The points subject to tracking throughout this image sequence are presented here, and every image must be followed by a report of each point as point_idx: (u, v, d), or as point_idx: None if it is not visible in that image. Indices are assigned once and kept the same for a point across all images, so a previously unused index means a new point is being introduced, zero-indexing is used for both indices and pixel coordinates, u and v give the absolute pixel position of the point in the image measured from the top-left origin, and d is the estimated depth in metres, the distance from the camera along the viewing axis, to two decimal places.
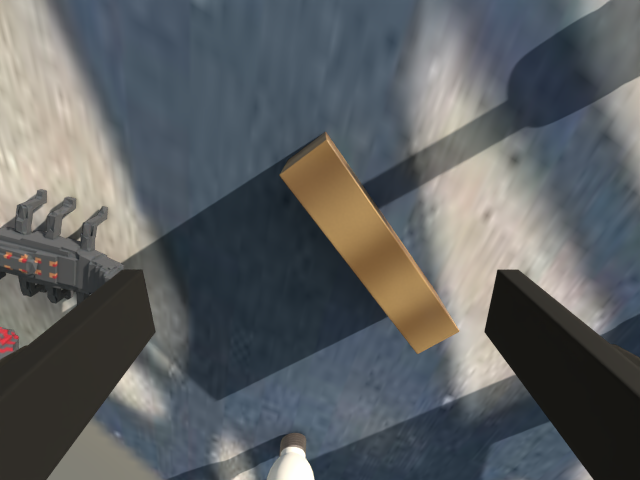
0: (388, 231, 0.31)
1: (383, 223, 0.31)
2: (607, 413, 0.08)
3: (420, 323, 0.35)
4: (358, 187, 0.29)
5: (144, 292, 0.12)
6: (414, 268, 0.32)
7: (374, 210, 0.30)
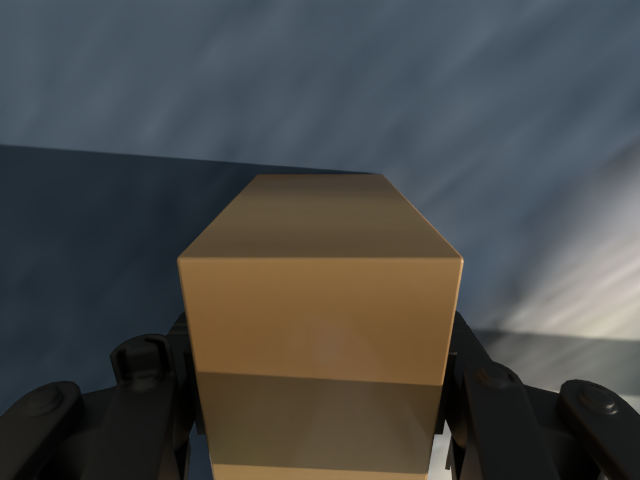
0: None
1: None
2: None
3: None
4: (426, 456, 0.08)
5: None
6: None
7: None
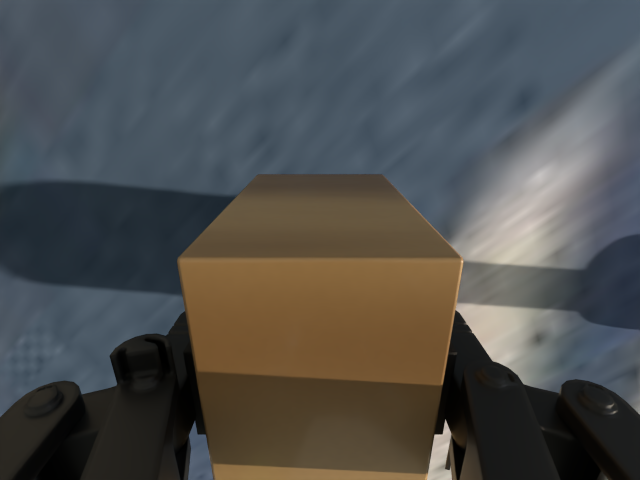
0: None
1: None
2: None
3: None
4: (426, 456, 0.08)
5: None
6: None
7: None
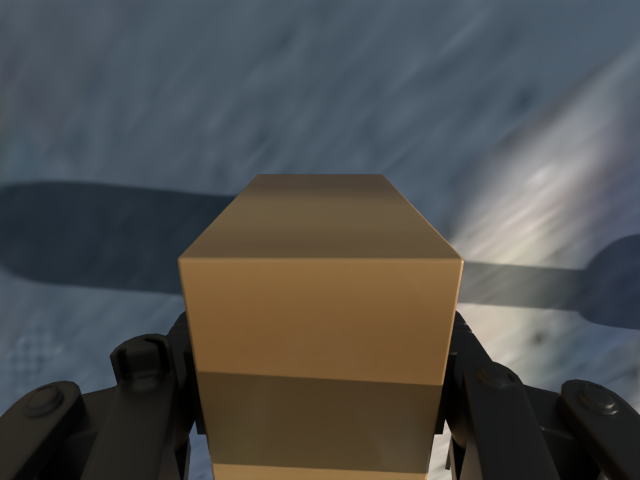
0: None
1: None
2: None
3: None
4: (426, 457, 0.08)
5: None
6: None
7: None
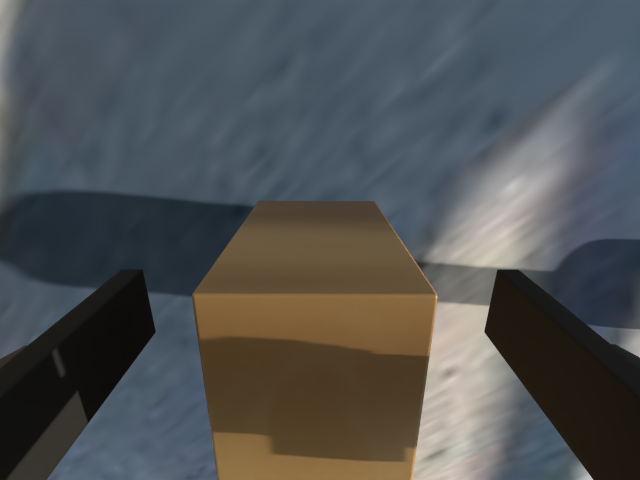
0: None
1: None
2: (607, 413, 0.08)
3: None
4: (410, 466, 0.09)
5: (144, 292, 0.12)
6: None
7: None
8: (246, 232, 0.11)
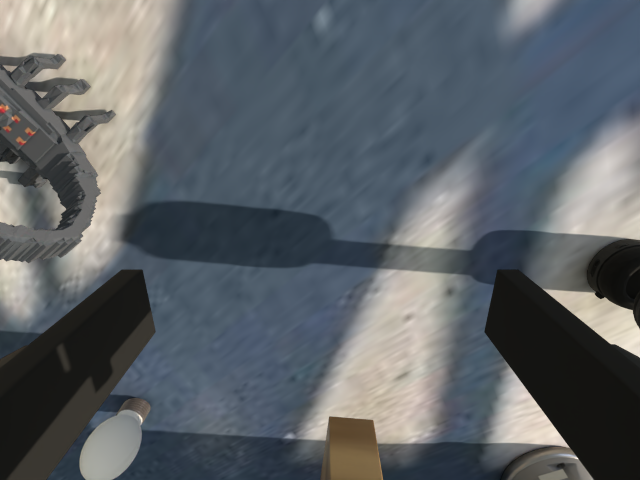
0: None
1: None
2: (607, 413, 0.08)
3: None
4: None
5: (145, 292, 0.12)
6: None
7: None
8: (333, 452, 0.34)
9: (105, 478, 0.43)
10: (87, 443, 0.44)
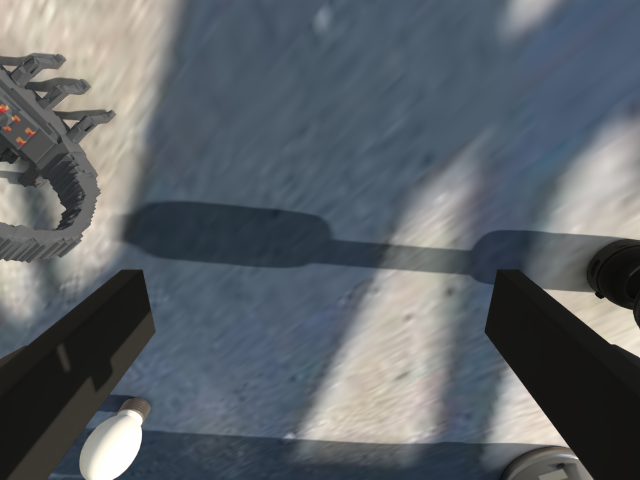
0: None
1: None
2: (607, 413, 0.08)
3: None
4: None
5: (145, 292, 0.12)
6: None
7: None
8: None
9: (105, 478, 0.43)
10: (87, 443, 0.44)
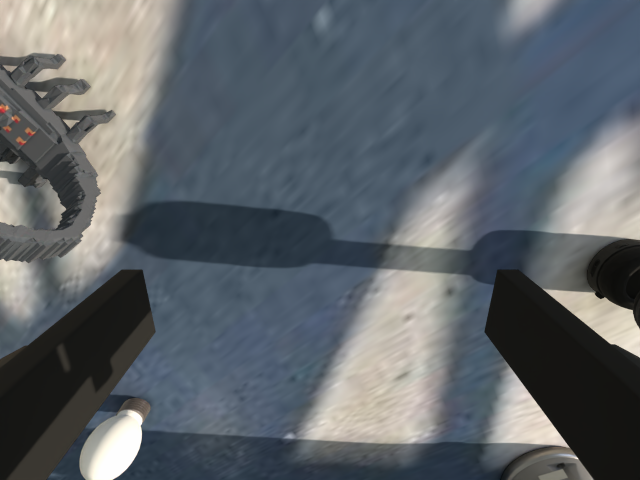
0: None
1: None
2: (607, 413, 0.08)
3: None
4: None
5: (145, 292, 0.12)
6: None
7: None
8: None
9: (105, 478, 0.43)
10: (87, 443, 0.44)
